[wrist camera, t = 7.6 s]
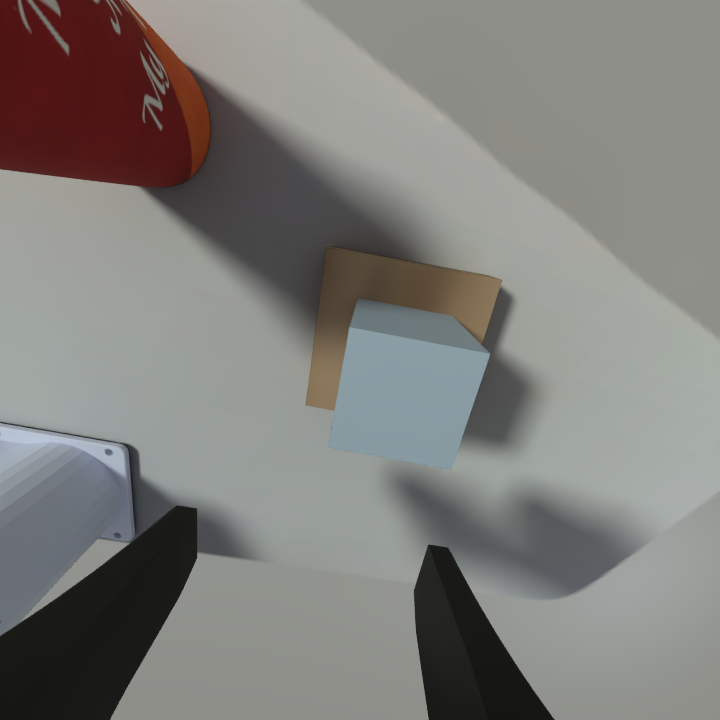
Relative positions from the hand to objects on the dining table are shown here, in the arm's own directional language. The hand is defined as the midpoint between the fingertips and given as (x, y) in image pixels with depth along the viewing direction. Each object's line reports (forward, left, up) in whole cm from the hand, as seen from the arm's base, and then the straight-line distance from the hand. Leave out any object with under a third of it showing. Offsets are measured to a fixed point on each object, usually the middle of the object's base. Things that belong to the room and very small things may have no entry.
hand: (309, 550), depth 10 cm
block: (+2, +4, -8) cm, 9 cm away
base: (+2, +5, -10) cm, 11 cm away
